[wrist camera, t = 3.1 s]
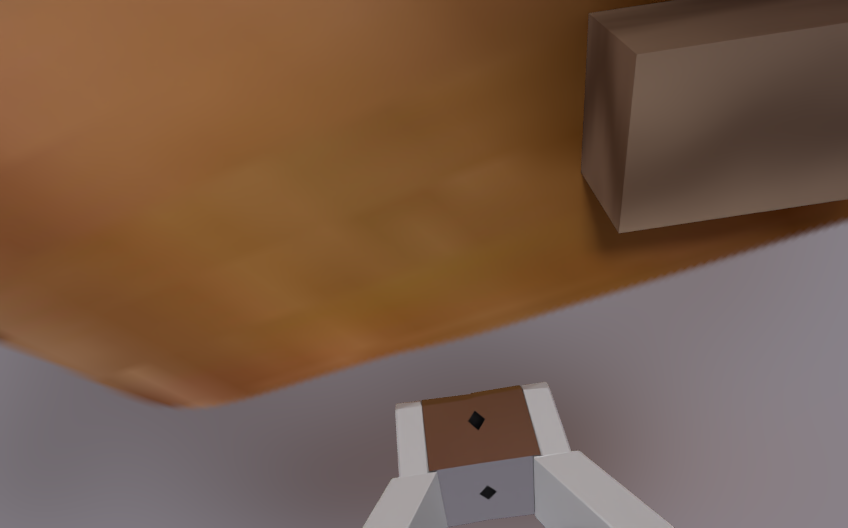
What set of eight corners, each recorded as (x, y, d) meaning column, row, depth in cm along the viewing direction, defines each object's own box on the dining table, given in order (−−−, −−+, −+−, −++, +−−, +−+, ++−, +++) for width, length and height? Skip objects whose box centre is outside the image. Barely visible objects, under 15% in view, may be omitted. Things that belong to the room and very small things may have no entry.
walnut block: (586, 11, 20) (636, 54, 16) (883, -34, 20) (1000, -1, 16) (579, 169, 23) (618, 233, 20) (829, 132, 23) (914, 189, 20)
